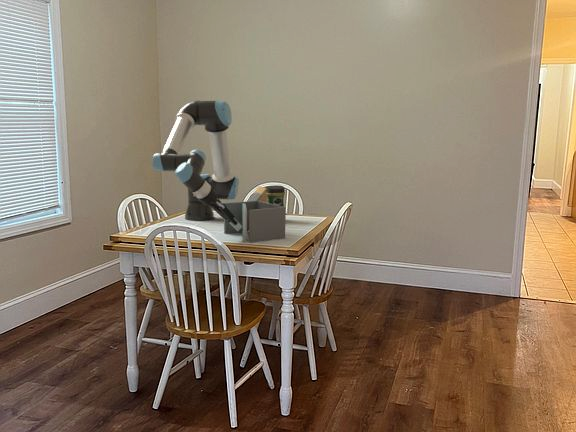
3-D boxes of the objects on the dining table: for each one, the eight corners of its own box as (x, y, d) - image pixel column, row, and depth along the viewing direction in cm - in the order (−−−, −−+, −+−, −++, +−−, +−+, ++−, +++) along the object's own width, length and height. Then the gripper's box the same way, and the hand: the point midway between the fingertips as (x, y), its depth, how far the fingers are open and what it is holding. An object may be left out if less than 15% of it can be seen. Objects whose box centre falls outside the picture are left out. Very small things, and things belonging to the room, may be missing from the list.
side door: (243, 242, 235) (243, 210, 233) (242, 232, 255) (242, 203, 253) (247, 242, 235) (247, 210, 233) (245, 232, 256) (245, 203, 253)
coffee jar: (281, 219, 294) (281, 184, 291) (286, 221, 287) (286, 186, 284) (264, 219, 291) (264, 184, 288) (268, 222, 284) (269, 186, 281)
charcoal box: (249, 242, 235) (250, 210, 232) (224, 233, 254) (223, 203, 252) (285, 238, 245) (285, 207, 242) (257, 229, 264) (257, 200, 262)
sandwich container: (235, 214, 308) (235, 187, 306) (258, 212, 317) (258, 186, 315) (244, 216, 301) (244, 189, 299) (267, 214, 310) (267, 187, 308)
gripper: (192, 197, 238) (227, 232, 250) (205, 201, 227) (241, 237, 239) (204, 185, 240) (237, 220, 252) (217, 187, 229) (252, 224, 241)
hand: (239, 228), depth 245 cm, fingers closed
